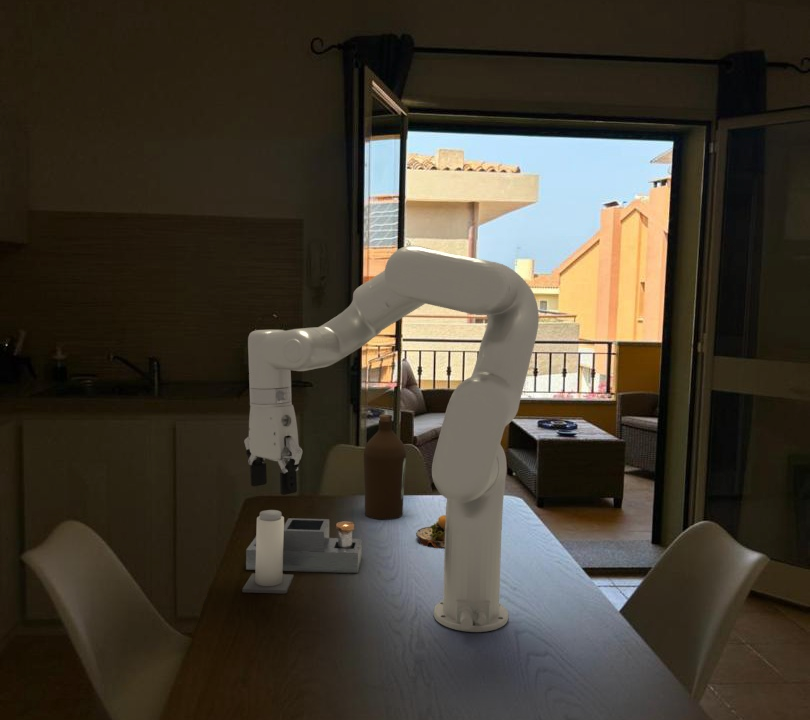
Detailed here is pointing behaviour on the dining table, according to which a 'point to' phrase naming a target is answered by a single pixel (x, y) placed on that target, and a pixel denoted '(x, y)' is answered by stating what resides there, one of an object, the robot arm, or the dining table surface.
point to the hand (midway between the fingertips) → (273, 489)
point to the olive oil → (384, 472)
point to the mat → (279, 588)
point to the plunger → (345, 534)
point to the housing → (312, 549)
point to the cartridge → (269, 548)
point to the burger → (433, 533)
